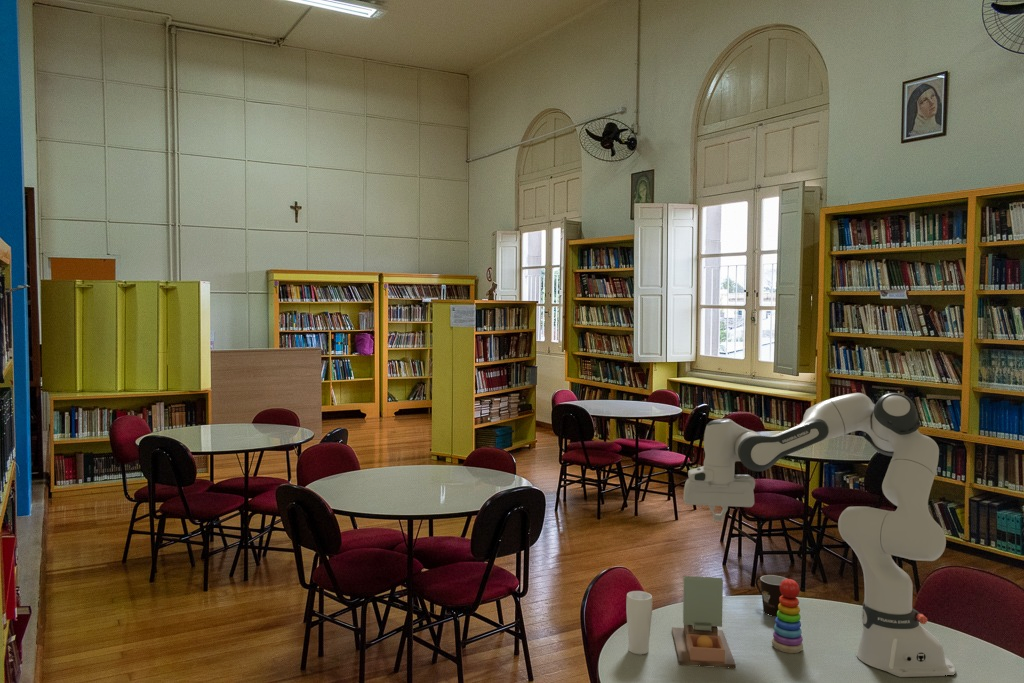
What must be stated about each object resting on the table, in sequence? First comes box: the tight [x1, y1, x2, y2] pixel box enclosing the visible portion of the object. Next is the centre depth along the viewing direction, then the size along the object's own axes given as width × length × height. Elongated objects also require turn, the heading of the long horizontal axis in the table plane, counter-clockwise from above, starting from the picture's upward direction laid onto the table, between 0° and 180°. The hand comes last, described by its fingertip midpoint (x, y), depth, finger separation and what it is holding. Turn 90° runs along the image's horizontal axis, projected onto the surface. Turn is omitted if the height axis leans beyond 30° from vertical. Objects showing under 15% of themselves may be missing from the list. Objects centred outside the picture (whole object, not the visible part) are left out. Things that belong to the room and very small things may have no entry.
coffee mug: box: [755, 574, 788, 617], centre depth 224 cm, size 12×9×10 cm
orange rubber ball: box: [697, 635, 713, 648], centre depth 193 cm, size 4×4×4 cm
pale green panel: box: [682, 575, 724, 631], centre depth 197 cm, size 10×2×14 cm, turn 83°
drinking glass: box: [625, 590, 653, 656], centre depth 195 cm, size 7×7×15 cm
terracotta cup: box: [686, 634, 725, 664], centre depth 191 cm, size 9×9×4 cm
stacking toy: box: [771, 578, 804, 654], centre depth 198 cm, size 8×8×19 cm
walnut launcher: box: [671, 624, 737, 669], centre depth 197 cm, size 14×21×6 cm, turn 173°
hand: (718, 520), depth 218 cm, fingers closed
